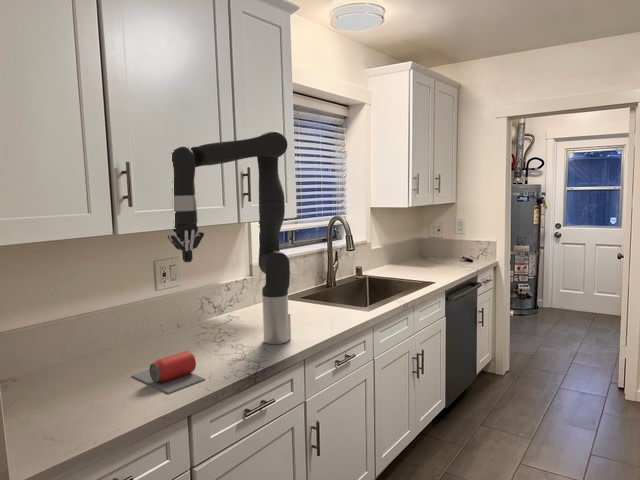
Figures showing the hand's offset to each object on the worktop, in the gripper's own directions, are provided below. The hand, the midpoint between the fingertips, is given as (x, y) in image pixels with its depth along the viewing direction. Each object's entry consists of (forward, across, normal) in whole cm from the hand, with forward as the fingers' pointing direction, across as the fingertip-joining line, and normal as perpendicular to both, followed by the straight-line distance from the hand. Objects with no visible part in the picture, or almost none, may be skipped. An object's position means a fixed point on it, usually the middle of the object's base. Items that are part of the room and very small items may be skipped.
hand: (187, 261), depth 152 cm
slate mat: (+32, +16, +11) cm, 37 cm away
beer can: (+28, +9, +13) cm, 32 cm away
